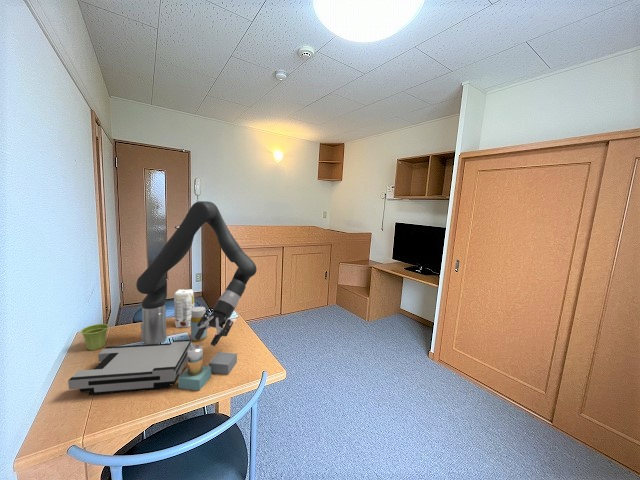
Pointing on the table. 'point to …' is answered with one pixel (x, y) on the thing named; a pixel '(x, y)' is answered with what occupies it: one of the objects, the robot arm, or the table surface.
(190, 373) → the salt shaker
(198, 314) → the bottle
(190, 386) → the stand
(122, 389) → the office tray
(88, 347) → the plant pot
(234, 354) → the stand
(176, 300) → the juice carton
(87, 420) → the table surface
